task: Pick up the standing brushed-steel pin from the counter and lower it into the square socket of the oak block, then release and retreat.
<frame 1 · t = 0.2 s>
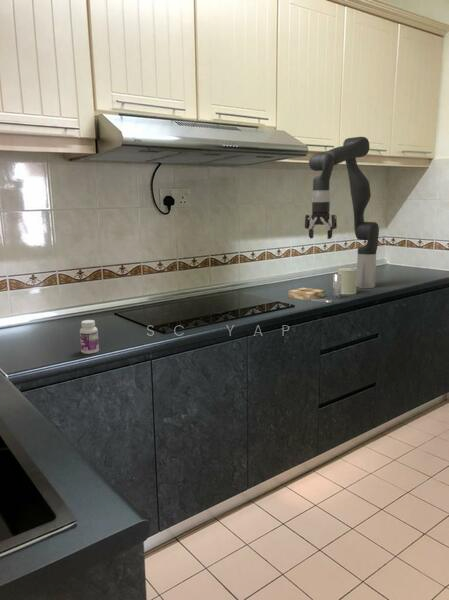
hand: (320, 238, 214), 28 cm above the countertop, fingers open, 8 cm apart
pin: (336, 297, 224), on the countertop
socket block: (306, 296, 227), on the countertop
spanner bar: (319, 301, 217), on the countertop
pill bottle: (90, 352, 150), on the countertop
can: (346, 293, 236), on the countertop
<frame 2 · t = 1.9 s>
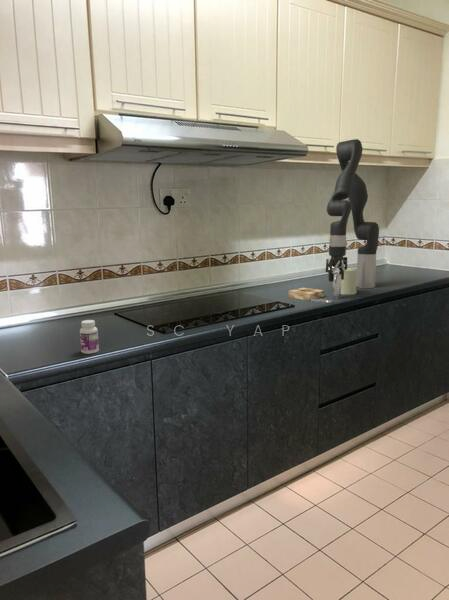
hand: (336, 280, 222), 8 cm above the countertop, fingers open, 8 cm apart
nothing on the countertop moved.
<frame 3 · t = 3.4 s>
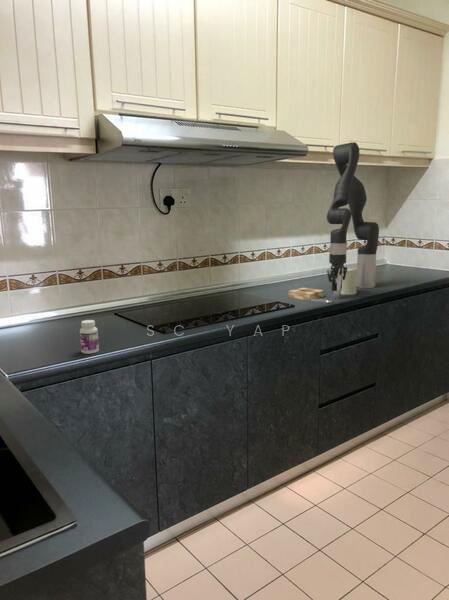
hand: (336, 289, 223), 4 cm above the countertop, fingers closed on pin, 3 cm apart
pin: (336, 297, 224), on the countertop, touching gripper
everything else where it was.
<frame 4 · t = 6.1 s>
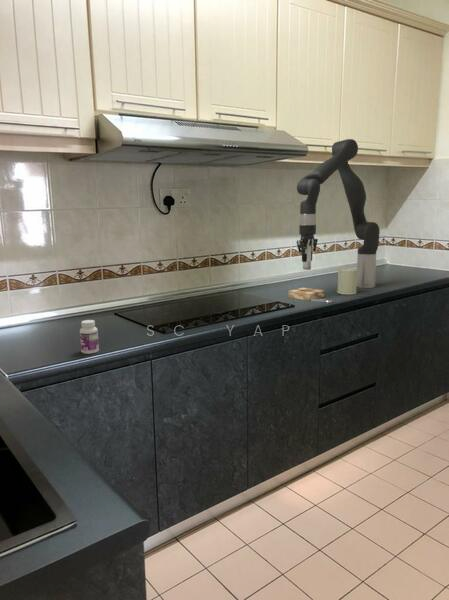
hand: (306, 261, 224), 17 cm above the countertop, fingers closed on pin, 3 cm apart
pin: (306, 269, 225), point 13 cm above the countertop, touching gripper
everything else where it was.
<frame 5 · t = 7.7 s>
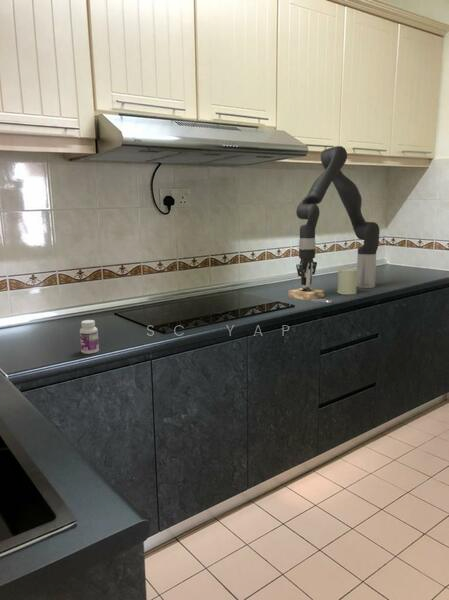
hand: (306, 284, 226), 6 cm above the countertop, fingers closed on pin, 3 cm apart
pin: (306, 292, 227), point 2 cm above the countertop, touching gripper
everything else where it was.
when the fingers open (5 cm above the countertop, at t = 9.0 s): pin stays where it is, resting in socket block.
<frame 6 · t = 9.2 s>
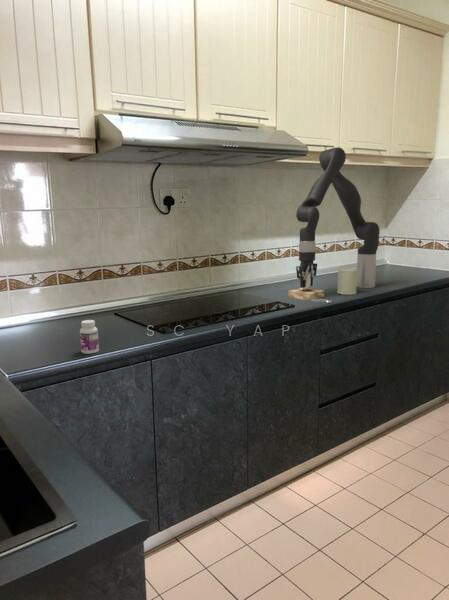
hand: (306, 286, 226), 5 cm above the countertop, fingers open, 5 cm apart
pin: (306, 296, 228), resting in socket block
everything else where it was.
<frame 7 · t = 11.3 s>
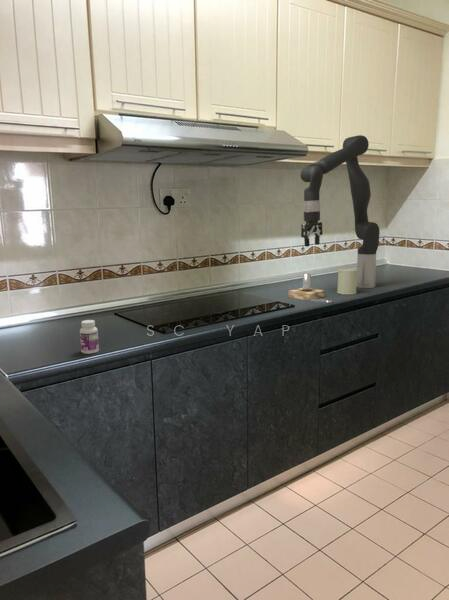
hand: (312, 245, 228), 24 cm above the countertop, fingers open, 8 cm apart
nothing on the countertop moved.
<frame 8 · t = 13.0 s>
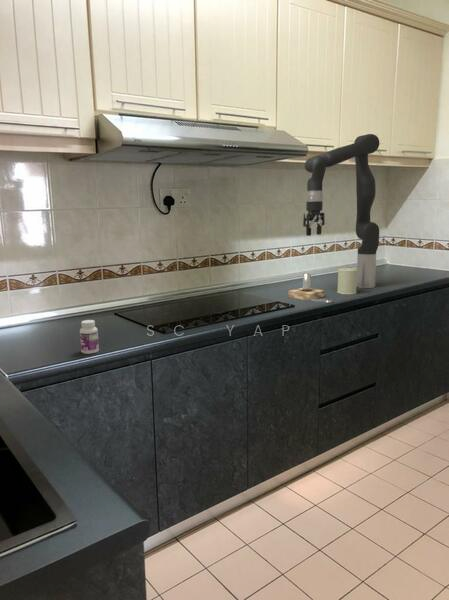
hand: (313, 235, 232), 28 cm above the countertop, fingers open, 8 cm apart
nothing on the countertop moved.
at the end: pin 0.1 cm off-centre on the socket block, point 0.0 cm above the socket block's base; pin tilted 0°; the gripper is holding nothing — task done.
